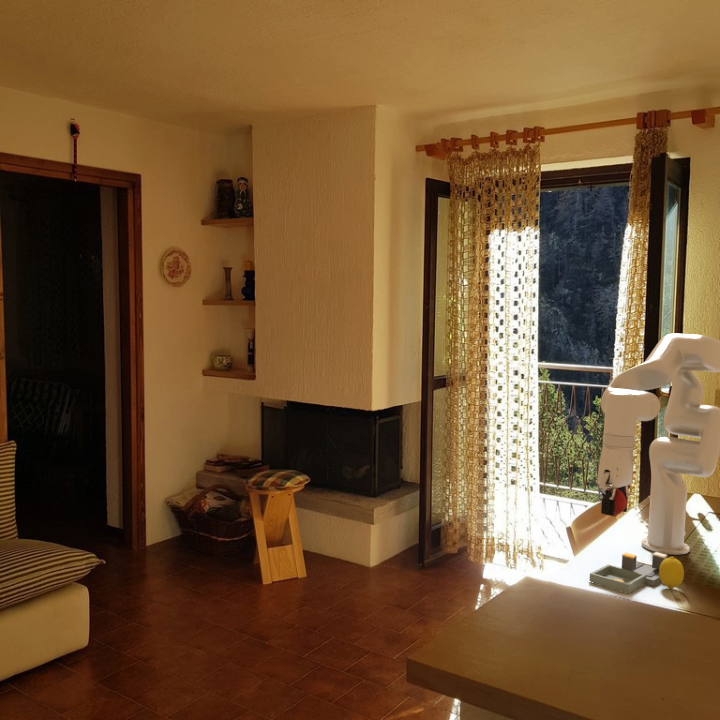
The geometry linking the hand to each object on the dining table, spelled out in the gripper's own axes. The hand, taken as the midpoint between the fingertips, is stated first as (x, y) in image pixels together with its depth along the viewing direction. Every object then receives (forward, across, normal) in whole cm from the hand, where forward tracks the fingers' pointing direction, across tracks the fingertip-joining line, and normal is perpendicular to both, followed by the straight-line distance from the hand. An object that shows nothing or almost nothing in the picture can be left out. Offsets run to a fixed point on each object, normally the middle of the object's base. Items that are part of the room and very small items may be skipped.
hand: (614, 512), depth 187 cm
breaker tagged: (+14, -2, +4) cm, 15 cm away
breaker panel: (+16, -6, +6) cm, 18 cm away
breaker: (+14, -9, +9) cm, 19 cm away
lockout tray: (+16, +4, +4) cm, 17 cm away
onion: (+1, 0, 0) cm, 1 cm away
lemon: (+16, -3, +14) cm, 22 cm away
